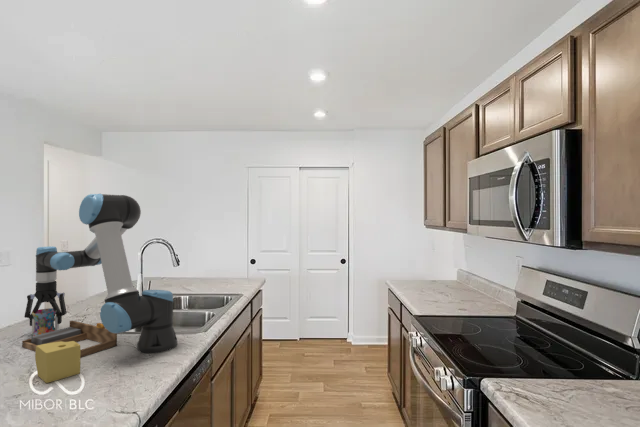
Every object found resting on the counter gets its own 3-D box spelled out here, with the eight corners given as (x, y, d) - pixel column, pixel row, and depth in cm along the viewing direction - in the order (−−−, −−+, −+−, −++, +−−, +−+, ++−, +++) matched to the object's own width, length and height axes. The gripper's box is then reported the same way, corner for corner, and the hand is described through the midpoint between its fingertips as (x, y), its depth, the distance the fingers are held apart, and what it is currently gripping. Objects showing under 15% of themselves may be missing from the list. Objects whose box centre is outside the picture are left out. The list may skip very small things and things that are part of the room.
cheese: (70, 365, 132) (71, 337, 132) (82, 374, 125) (82, 344, 125) (34, 375, 124) (35, 345, 124) (44, 385, 117) (44, 353, 117)
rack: (117, 345, 152) (117, 326, 152) (66, 361, 135) (67, 340, 135) (72, 333, 167) (72, 316, 167) (21, 347, 150) (22, 328, 150)
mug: (46, 338, 161) (46, 313, 161) (25, 338, 161) (25, 313, 161) (66, 329, 173) (66, 307, 173) (47, 329, 173) (47, 306, 173)
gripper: (75, 278, 174) (75, 327, 173) (22, 280, 167) (22, 331, 167) (70, 281, 166) (69, 332, 166) (14, 283, 160) (13, 336, 160)
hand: (45, 331), depth 167 cm, fingers closed on mug, 8 cm apart
